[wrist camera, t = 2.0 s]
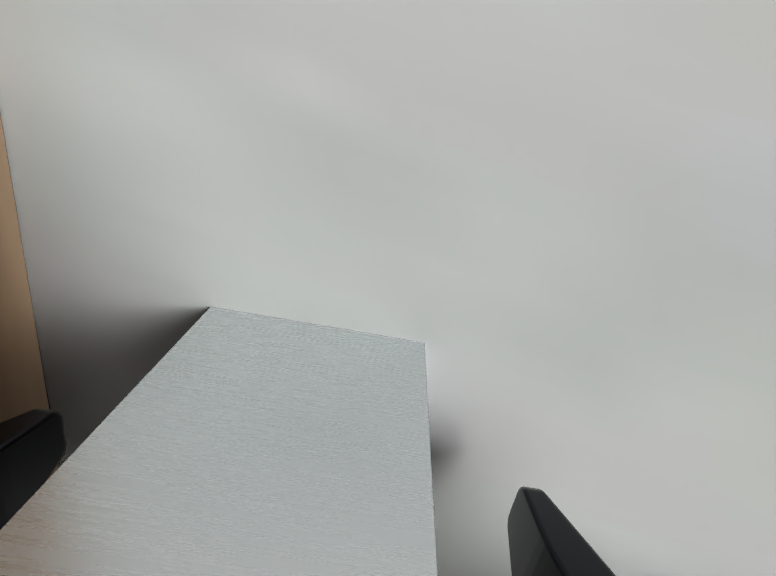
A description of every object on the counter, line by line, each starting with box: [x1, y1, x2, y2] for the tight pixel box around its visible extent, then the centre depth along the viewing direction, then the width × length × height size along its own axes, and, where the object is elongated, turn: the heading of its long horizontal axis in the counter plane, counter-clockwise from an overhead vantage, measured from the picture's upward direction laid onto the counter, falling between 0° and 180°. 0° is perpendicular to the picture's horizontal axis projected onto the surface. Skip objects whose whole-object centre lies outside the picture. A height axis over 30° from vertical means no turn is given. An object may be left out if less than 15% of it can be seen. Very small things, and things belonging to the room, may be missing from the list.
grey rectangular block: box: [0, 307, 437, 576], centre depth 8 cm, size 4×4×6 cm
